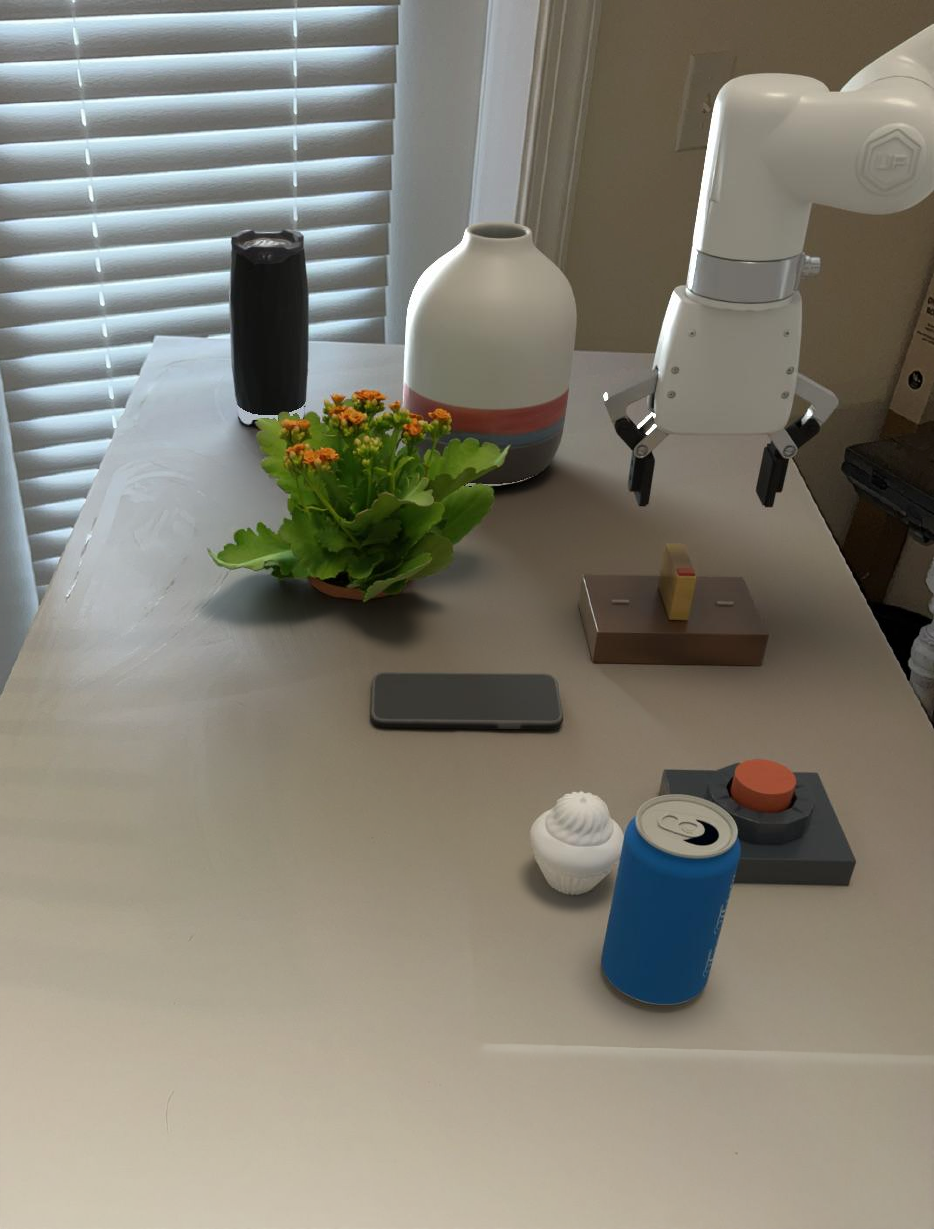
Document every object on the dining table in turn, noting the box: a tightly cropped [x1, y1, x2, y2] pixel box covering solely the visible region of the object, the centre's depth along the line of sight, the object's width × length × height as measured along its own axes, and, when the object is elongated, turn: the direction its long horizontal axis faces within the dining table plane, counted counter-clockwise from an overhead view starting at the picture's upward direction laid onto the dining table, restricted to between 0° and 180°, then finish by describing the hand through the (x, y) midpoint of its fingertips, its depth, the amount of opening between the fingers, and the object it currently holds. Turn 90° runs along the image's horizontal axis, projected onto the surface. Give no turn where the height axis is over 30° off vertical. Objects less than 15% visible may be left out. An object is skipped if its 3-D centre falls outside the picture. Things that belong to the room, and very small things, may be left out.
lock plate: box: [578, 574, 770, 667], centre depth 114 cm, size 14×10×3 cm
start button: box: [730, 758, 796, 813], centre depth 91 cm, size 4×4×2 cm
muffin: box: [529, 790, 625, 896], centre depth 88 cm, size 6×6×7 cm
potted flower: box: [206, 389, 511, 603], centre depth 119 cm, size 25×24×18 cm
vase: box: [402, 221, 578, 484], centre depth 136 cm, size 17×17×24 cm
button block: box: [658, 762, 857, 887], centre depth 92 cm, size 11×10×4 cm
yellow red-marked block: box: [658, 543, 697, 620], centre depth 112 cm, size 6×2×4 cm, turn 177°
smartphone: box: [369, 671, 564, 730], centre depth 106 cm, size 7×1×15 cm
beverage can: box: [600, 794, 741, 1006], centre depth 79 cm, size 6×6×12 cm
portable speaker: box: [228, 229, 310, 415], centre depth 148 cm, size 9×9×20 cm
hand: (702, 499), depth 106 cm, fingers open, 9 cm apart
